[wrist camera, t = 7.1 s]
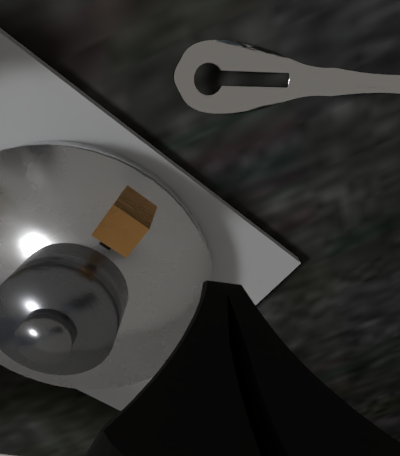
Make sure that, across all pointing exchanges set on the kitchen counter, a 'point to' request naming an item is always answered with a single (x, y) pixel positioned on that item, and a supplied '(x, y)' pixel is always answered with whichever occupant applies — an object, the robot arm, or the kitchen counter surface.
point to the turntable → (107, 246)
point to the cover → (62, 309)
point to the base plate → (142, 154)
